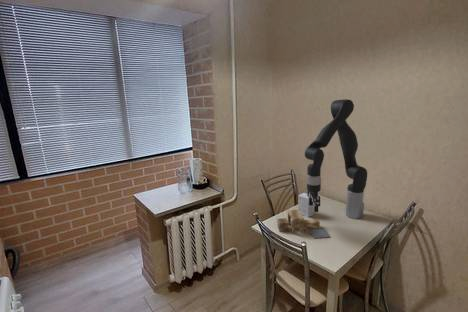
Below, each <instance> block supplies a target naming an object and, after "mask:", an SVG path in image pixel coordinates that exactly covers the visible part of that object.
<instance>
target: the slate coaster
mask: <svg viewBox="0 0 468 312" xmlns="http://www.w3.org/2000/svg"><path fill="white" fill-rule="evenodd" d="M308 231H309V232H310V234H311V235H312V237H313V239H327V238H331V235H330V234H329V233H328V231H327V230H326V229H325V227H320V228H315V229H308Z"/></svg>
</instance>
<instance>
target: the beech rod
mask: <svg viewBox="0 0 468 312" xmlns="http://www.w3.org/2000/svg"><path fill="white" fill-rule="evenodd" d="M320 225H321V221H320V220H319V219H318V218H316V219H315V218H314V219H304V230H309V229H315V228H321V226H320ZM300 226H301V221H295V231H300ZM290 227H291V229H292V220H291V225H290Z"/></svg>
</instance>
